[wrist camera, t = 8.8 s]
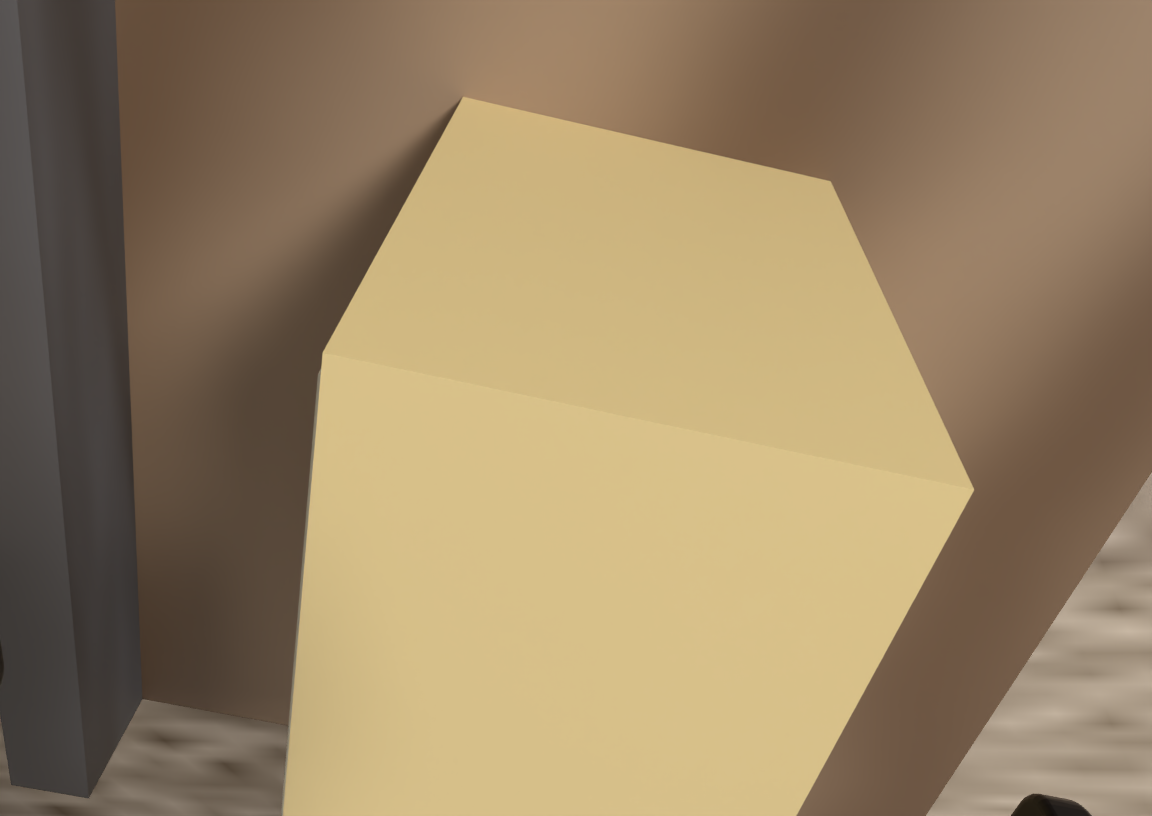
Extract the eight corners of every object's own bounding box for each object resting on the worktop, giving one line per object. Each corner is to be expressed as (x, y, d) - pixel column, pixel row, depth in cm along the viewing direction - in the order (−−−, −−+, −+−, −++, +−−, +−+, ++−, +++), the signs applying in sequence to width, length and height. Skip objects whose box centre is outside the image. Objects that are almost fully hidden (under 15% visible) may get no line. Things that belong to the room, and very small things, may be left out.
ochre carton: (830, 181, 12) (974, 490, 7) (675, 604, 15) (691, 1007, 10) (446, 92, 11) (291, 345, 6) (382, 547, 15) (253, 932, 10)
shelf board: (1471, -133, 11) (1733, -104, 8) (898, 792, 19) (936, 947, 17) (-16, -522, 10) (-252, -627, 7) (82, 640, 18) (-9, 781, 16)
